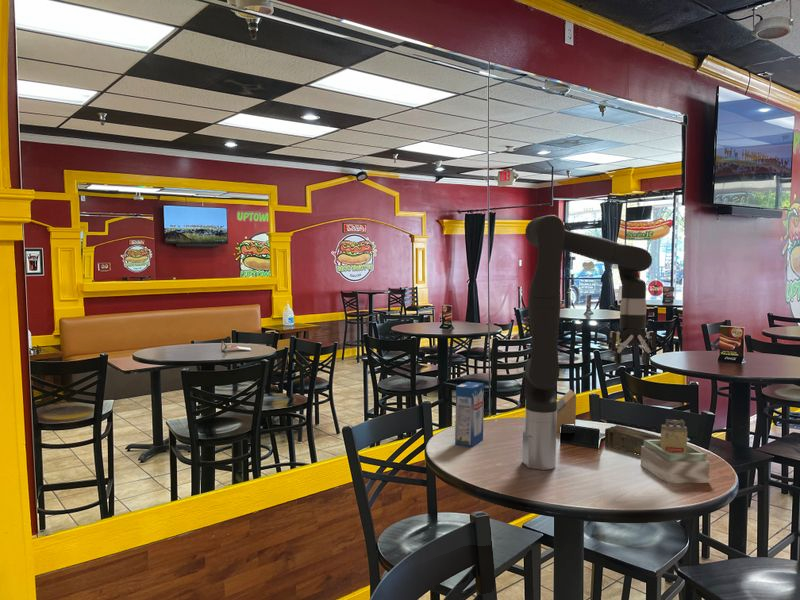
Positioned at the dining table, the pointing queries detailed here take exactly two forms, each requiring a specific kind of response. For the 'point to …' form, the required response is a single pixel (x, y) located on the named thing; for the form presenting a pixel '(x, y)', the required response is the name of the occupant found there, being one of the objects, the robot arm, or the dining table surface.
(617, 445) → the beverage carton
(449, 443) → the dining table surface
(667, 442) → the lighter
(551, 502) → the dining table surface
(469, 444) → the milk carton
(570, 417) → the sandwich container
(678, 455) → the stand
